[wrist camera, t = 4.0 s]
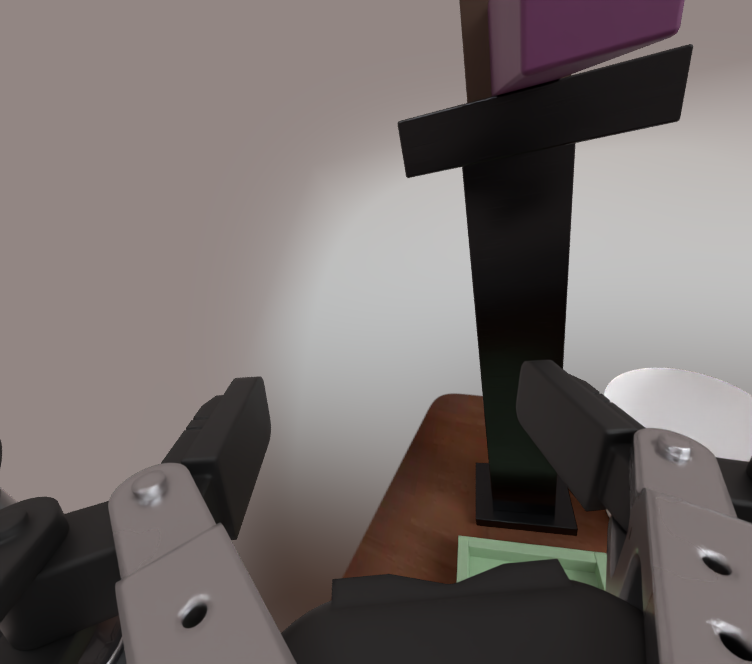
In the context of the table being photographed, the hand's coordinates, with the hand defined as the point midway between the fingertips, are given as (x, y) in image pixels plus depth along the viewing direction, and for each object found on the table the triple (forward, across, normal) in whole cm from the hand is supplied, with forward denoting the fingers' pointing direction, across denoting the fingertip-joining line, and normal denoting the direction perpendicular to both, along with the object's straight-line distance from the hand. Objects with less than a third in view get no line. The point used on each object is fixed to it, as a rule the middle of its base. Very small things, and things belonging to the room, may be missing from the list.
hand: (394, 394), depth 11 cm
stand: (+13, -13, +21) cm, 28 cm away
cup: (+10, -22, +20) cm, 32 cm away
